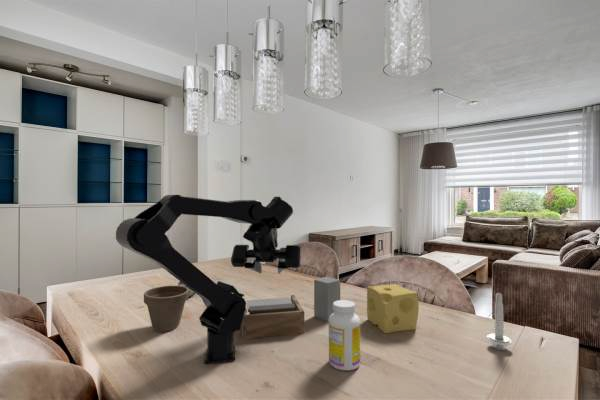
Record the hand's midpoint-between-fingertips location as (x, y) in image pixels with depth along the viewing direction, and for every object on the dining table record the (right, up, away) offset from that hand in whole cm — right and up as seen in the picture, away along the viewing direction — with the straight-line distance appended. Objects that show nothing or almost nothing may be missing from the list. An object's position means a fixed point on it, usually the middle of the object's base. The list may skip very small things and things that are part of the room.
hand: (270, 272), depth 91 cm
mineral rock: (-33, -14, +22) cm, 43 cm away
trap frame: (+1, -14, -5) cm, 14 cm away
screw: (+56, -14, -18) cm, 60 cm away
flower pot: (-28, -14, -6) cm, 32 cm away
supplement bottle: (+18, -14, -25) cm, 34 cm away
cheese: (+34, -14, -4) cm, 37 cm away
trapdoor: (0, -10, -4) cm, 11 cm away
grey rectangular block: (+17, -14, +1) cm, 22 cm away
